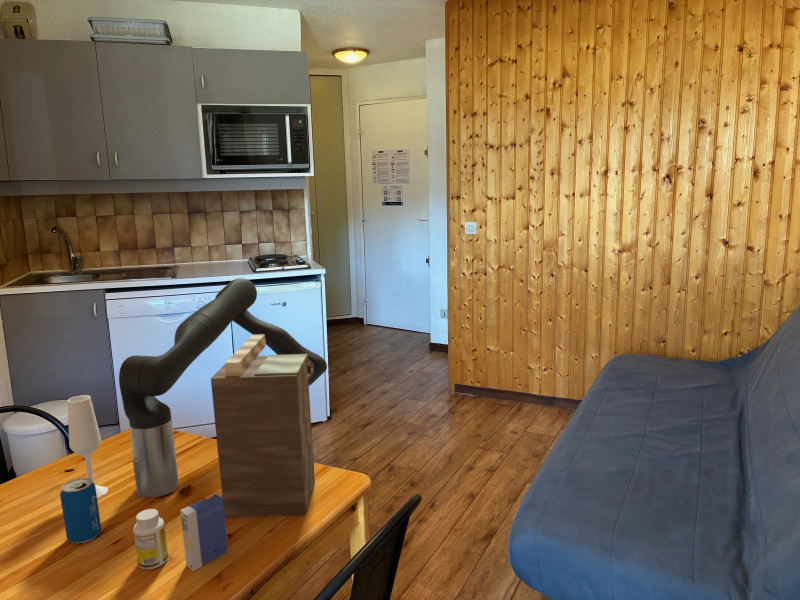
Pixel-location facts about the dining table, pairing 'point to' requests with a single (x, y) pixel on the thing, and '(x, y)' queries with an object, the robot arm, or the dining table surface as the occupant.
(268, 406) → the walnut stand
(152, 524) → the supplement bottle
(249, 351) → the pale wooden plank
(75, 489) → the beverage can
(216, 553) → the blue cardboard box
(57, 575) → the dining table surface
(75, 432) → the champagne flute
